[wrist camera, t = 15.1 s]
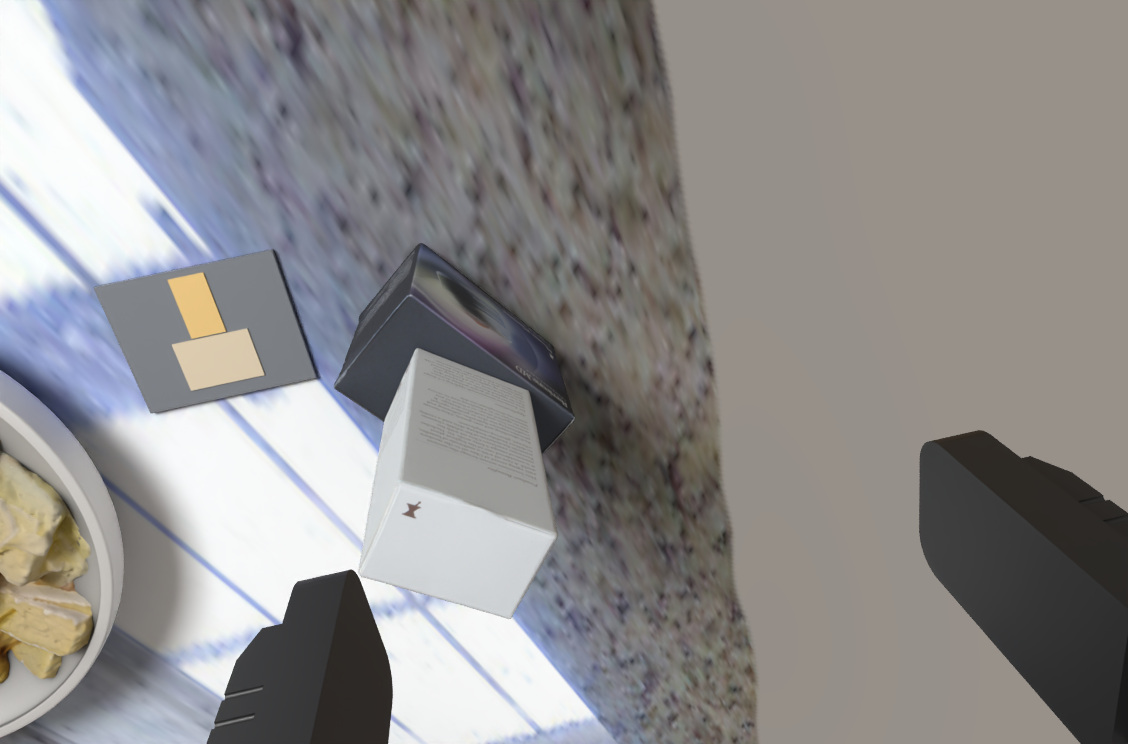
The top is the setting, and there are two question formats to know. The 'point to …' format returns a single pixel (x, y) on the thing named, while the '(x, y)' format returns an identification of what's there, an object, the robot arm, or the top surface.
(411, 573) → the skincare box
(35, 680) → the bowl
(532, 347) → the small box
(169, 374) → the card
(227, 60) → the top surface
